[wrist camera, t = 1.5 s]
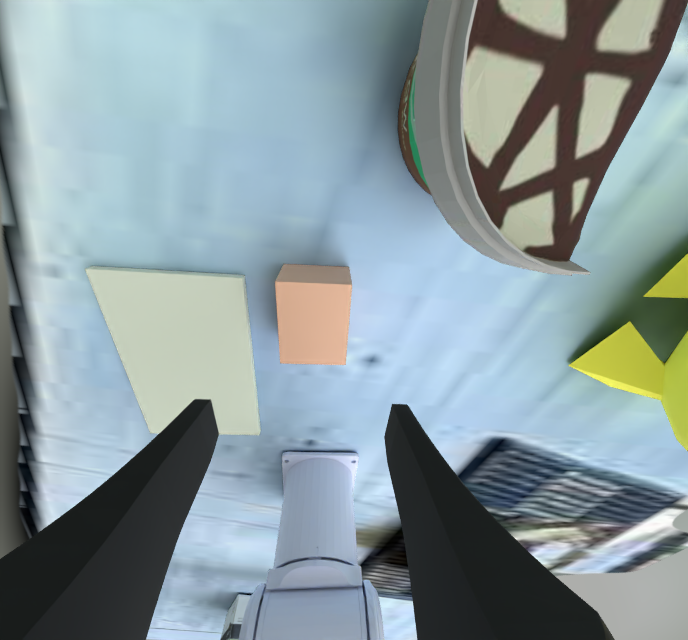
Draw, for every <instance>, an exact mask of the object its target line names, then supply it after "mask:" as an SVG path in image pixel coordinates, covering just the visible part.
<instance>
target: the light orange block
mask: <svg viewBox="0 0 688 640" xmlns="http://www.w3.org/2000/svg"><path fill="white" fill-rule="evenodd" d="M275 289H276V304H277V320H278V335H279V351H280V363H286V364H326V365H346V353H347V340H348V328H349V316H350V304H351V292H352V282H351V276H350V270H349V267H341V266H320V265H299V264H283V266H282V268H281V270H280V272H279V274H278V277H277V279H276V281H275Z"/></svg>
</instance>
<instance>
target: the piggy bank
mask: <svg viewBox="0 0 688 640" xmlns="http://www.w3.org/2000/svg"><path fill="white" fill-rule="evenodd" d="M643 297H668V298H688V254H687V255H686V256H685V257H683V258H682V259H681V260H680V261H679V262H678V263H677V264H676V265H675V266H674V267H673V268H672V269H671V270H670V271H669V272H668V273H667V274H666V275H665V276H664V277H663V278H662V279H661V280H660V281H659V282H658V283H657V284H656V285H654V286H653V287H652V288H651V289H650V290H649V291H648V292H647V293H646V294H645V295H644V296H643ZM568 366H570V367H572V368H574V369H576V370H578V371H580V372H582V373H584V374H586V375H588V376H590V377H592V378H594V379H596V380H598V381H600V382H602V383H604V384H606V385H608V386H610V387H614V388H617V389H621V390H625V391H628V392H632V393H636V394H640V395H643V396H647V397H651V398H654V399H658V400H661V402H662V405H663V407H664V410H665V412H666V415H667V417H668V419H669V422H670V424H671V427H672V429H673V432H674V434H675V436H676V439H677V440H678V441H679V443H680V444H681V445H682V446H683V447H684V448H685V449H686V450H687V451H688V331H687V332H686V334H685V335H684V336H683V338H682V339H681V341H680V342H679V344H678V345H677V347H676V348H675V350H674V351H673V352H672V354H671V355H670V357H669V358H668V360H667V361H666V363H664V362H663V361H661V360H660V359H658V357H657V356H656V355H655V353H654V352H653V351H652V349H651V348H650V347H649V345H648V344H647V343H646V342H645V340H644V339H643V338H642V336H641V335H640V334H639V332H638V331H637V330H636V328H635V327H634V326H633V325H632V323H631V322H630V321H629V322H628V323H627V324H625V325H624V326H622V327H621V328H620V329H618V330H617V331H615V332H614V333H613V334H611V335H610V336H608V337H607V338H606V339H604V340H603V341H602V342H600V343H599V344H597V345H596V346H595V347H593V348H592V349H590V350H589V351H588V352H586V353H585V354H584V355H582V356H581V357H579V358H578V359H577V360H575V361H574V362H572V363H571V364H570V365H568Z"/></svg>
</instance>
